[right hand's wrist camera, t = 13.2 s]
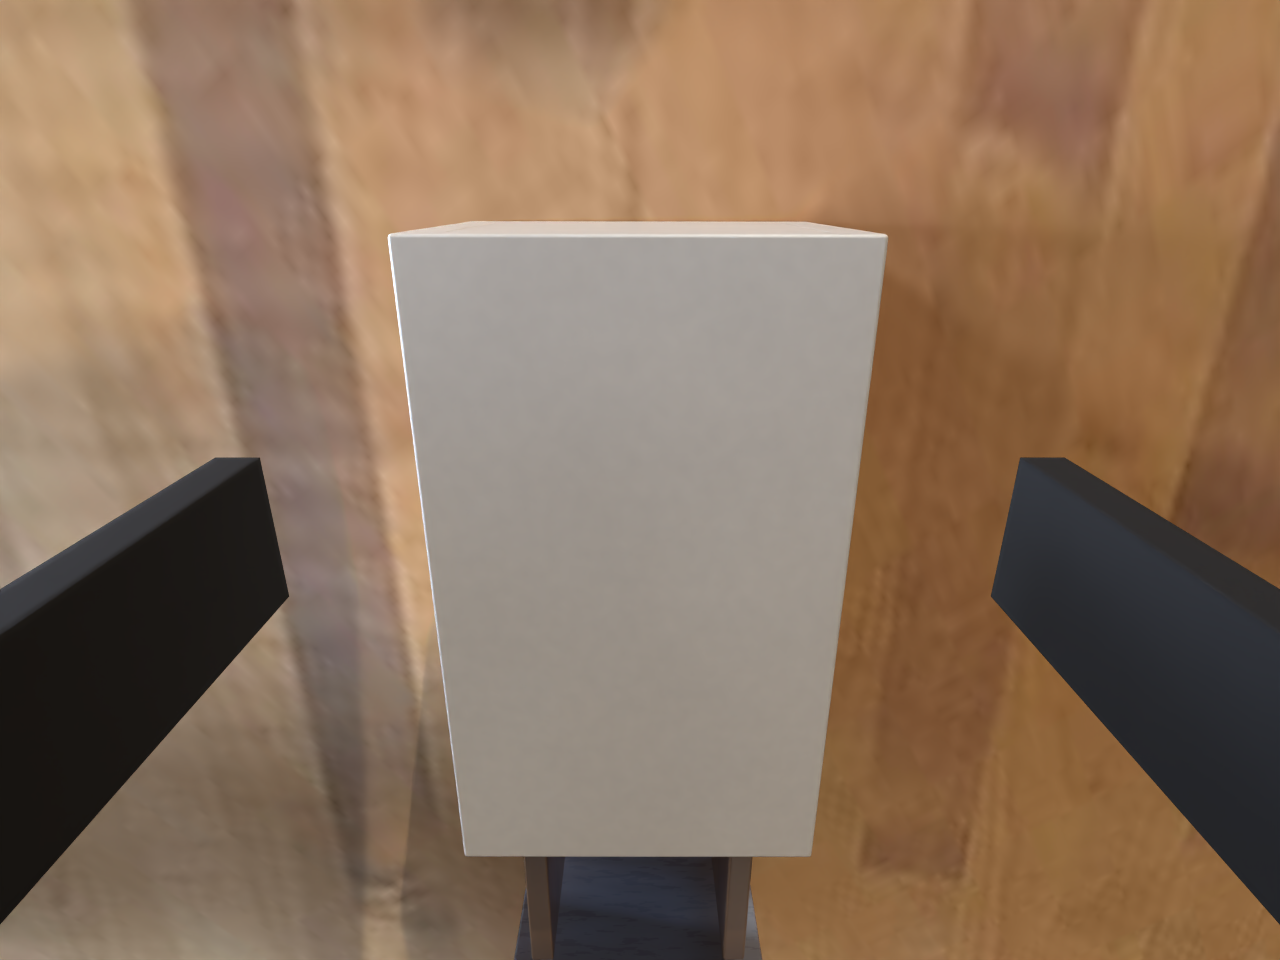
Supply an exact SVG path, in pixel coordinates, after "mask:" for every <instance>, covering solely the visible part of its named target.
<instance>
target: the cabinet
mask: <svg viewBox="0 0 1280 960" xmlns="http://www.w3.org/2000/svg"><path fill="white" fill-rule="evenodd" d="M388 243H389V251H390V259H391V267H392V275H393V283H394V291H395V299H396V307H397V315H398V323H399V331H400V339H401V347H402V355H403V363H404V371H405V379H406V387H407V395H408V403H409V411H410V419H411V427H412V435H413V443H414V451H415V459H416V467H417V475H418V483H419V491H420V499H421V508H422V516H423V524H424V532H425V540H426V548H427V556H428V564H429V572H430V580H431V588H432V596H433V604H434V612H435V620H436V628H437V636H438V644H439V652H440V660H441V668H442V676H443V684H444V692H445V700H446V708H447V716H448V724H449V732H450V740H451V748H452V756H453V765H454V773H455V781H456V789H457V797H458V805H459V813H460V821H461V829H462V837H463V845H464V853H465V856H467V857H810V856H811V853H812V845H813V837H814V829H815V821H816V813H817V805H818V797H819V789H820V781H821V773H822V765H823V757H824V749H825V741H826V733H827V725H828V717H829V709H830V701H831V693H832V685H833V677H834V669H835V661H836V653H837V645H838V637H839V629H840V621H841V613H842V605H843V597H844V589H845V581H846V573H847V565H848V557H849V549H850V541H851V533H852V525H853V517H854V509H855V501H856V493H857V485H858V477H859V469H860V461H861V453H862V445H863V437H864V429H865V421H866V413H867V405H868V397H869V389H870V381H871V373H872V365H873V357H874V349H875V341H876V333H877V325H878V317H879V309H880V301H881V293H882V285H883V277H884V269H885V261H886V253H887V245H888V235H886V234H881V233H874V232H869V231H862V230H856V229H849V228H843V227H836V226H830V225H823V224H817V223H811V222H604V221H471V222H465V223H458V224H452V225H445V226H438V227H431V228H425V229H418V230H411V231H406V232H398V233H391V234H389V236H388Z"/></svg>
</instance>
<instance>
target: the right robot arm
mask: <svg viewBox="0 0 1280 960" xmlns="http://www.w3.org/2000/svg"><path fill="white" fill-rule="evenodd" d="M288 597H289V594H288V589H287V584H286V579H285V575H284V570H283V565H282V561H281V556H280V551H279V546H278V542H277V537H276V532H275V528H274V523H273V518H272V513H271V509H270V504H269V499H268V495H267V490H266V485H265V480H264V476H263V471H262V466H261V462H260V458H214V459H212V460H211V461H209V462H207V463H206V464H204V465H203V466H201V467H199V468H198V469H196V470H194V471H193V472H191V473H189V474H188V475H186V476H185V477H183V478H181V479H180V480H178V481H176V482H175V483H173V484H171V485H170V486H168V487H167V488H165V489H163V490H162V491H160V492H158V493H157V494H155V495H154V496H152V497H150V498H149V499H147V500H145V501H144V502H142V503H140V504H139V505H137V506H136V507H134V508H132V509H131V510H129V511H127V512H126V513H124V514H122V515H121V516H119V517H118V518H116V519H114V520H113V521H111V522H109V523H108V524H106V525H104V526H103V527H101V528H100V529H98V530H96V531H95V532H93V533H91V534H90V535H88V536H87V537H85V538H83V539H82V540H80V541H78V542H77V543H75V544H73V545H72V546H70V547H69V548H67V549H65V550H64V551H62V552H60V553H59V554H57V555H55V556H54V557H52V558H51V559H49V560H47V561H46V562H44V563H42V564H41V565H39V566H38V567H36V568H34V569H33V570H31V571H29V572H28V573H26V574H24V575H23V576H21V577H20V578H18V579H16V580H15V581H13V582H11V583H10V584H8V585H6V586H5V587H3V588H2V589H0V924H1V923H2V922H3V921H4V920H5V918H6V917H7V916H8V915H9V914H10V913H11V912H12V911H13V909H14V908H15V907H16V906H17V905H18V904H19V903H20V901H21V900H22V899H23V898H24V897H25V896H26V895H27V893H28V892H29V891H30V890H31V889H32V888H33V887H34V886H35V884H36V883H37V882H38V881H39V880H40V879H41V878H42V876H43V875H44V874H45V873H46V872H47V871H48V870H49V868H50V867H51V866H52V865H53V864H54V863H55V862H56V861H57V859H58V858H59V857H60V856H61V855H62V854H63V853H64V851H65V850H66V849H67V848H68V847H69V846H70V845H71V843H72V842H73V841H74V840H75V839H76V838H77V837H78V836H79V834H80V833H81V832H82V831H83V830H84V829H85V828H86V826H87V825H88V824H89V823H90V822H91V821H92V820H93V818H94V817H95V816H96V815H97V814H98V813H99V812H100V811H101V809H102V808H103V807H104V806H105V805H106V804H107V803H108V801H109V800H110V799H111V798H112V797H113V796H114V795H115V793H116V792H117V791H118V790H119V789H120V788H121V787H122V786H123V784H124V783H125V782H126V781H127V780H128V779H129V778H130V776H131V775H132V774H133V773H134V772H135V771H136V770H137V769H138V767H139V766H140V765H141V764H142V763H143V762H144V761H145V759H146V758H147V757H148V756H149V755H150V754H151V753H152V751H153V750H154V749H155V748H156V747H157V746H158V745H159V744H160V742H161V741H162V740H163V739H164V738H165V737H166V736H167V734H168V733H169V732H170V731H171V730H172V729H173V728H174V726H175V725H176V724H177V723H178V722H179V721H180V720H181V719H182V717H183V716H184V715H185V714H186V713H187V712H188V711H189V709H190V708H191V707H192V706H193V705H194V704H195V703H196V701H197V700H198V699H199V698H200V697H201V696H202V695H203V694H204V692H205V691H206V690H207V689H208V688H209V687H210V686H211V684H212V683H213V682H214V681H215V680H216V679H217V678H218V676H219V675H220V674H221V673H222V672H223V671H224V670H225V669H226V667H227V666H228V665H229V664H230V663H231V662H232V661H233V659H234V658H235V657H236V656H237V655H238V654H239V653H240V652H241V650H242V649H243V648H244V647H245V646H246V645H247V644H248V642H249V641H250V640H251V639H252V638H253V637H254V636H255V634H256V633H257V632H258V631H259V630H260V629H261V628H262V627H263V625H264V624H265V623H266V622H267V621H268V620H269V619H270V617H271V616H272V615H273V614H274V613H275V612H276V611H277V609H278V608H279V607H280V606H281V605H282V604H283V603H284V602H285V600H286V599H287V598H288ZM991 597H992V598H993V599H994V600H995V602H996V603H997V604H998V605H999V606H1000V607H1001V608H1002V609H1003V611H1004V612H1005V613H1006V614H1007V615H1008V616H1009V617H1010V619H1011V620H1012V621H1013V622H1014V623H1015V624H1016V625H1017V627H1018V628H1019V629H1020V630H1021V631H1022V632H1023V633H1024V634H1025V636H1026V637H1027V638H1028V639H1029V640H1030V641H1031V642H1032V644H1033V645H1034V646H1035V647H1036V648H1037V649H1038V650H1039V652H1040V653H1041V654H1042V655H1043V656H1044V657H1045V658H1046V659H1047V661H1048V662H1049V663H1050V664H1051V665H1052V666H1053V667H1054V669H1055V670H1056V671H1057V672H1058V673H1059V674H1060V675H1061V676H1062V678H1063V679H1064V680H1065V681H1066V682H1067V683H1068V684H1069V686H1070V687H1071V688H1072V689H1073V690H1074V691H1075V692H1076V694H1077V695H1078V696H1079V697H1080V698H1081V699H1082V700H1083V701H1084V703H1085V704H1086V705H1087V706H1088V707H1089V708H1090V709H1091V711H1092V712H1093V713H1094V714H1095V715H1096V716H1097V717H1098V719H1099V720H1100V721H1101V722H1102V723H1103V724H1104V725H1105V726H1106V728H1107V729H1108V730H1109V731H1110V732H1111V733H1112V734H1113V736H1114V737H1115V738H1116V739H1117V740H1118V741H1119V742H1120V744H1121V745H1122V746H1123V747H1124V748H1125V749H1126V750H1127V751H1128V753H1129V754H1130V755H1131V756H1132V757H1133V758H1134V759H1135V761H1136V762H1137V763H1138V764H1139V765H1140V766H1141V767H1142V769H1143V770H1144V771H1145V772H1146V773H1147V774H1148V775H1149V776H1150V778H1151V779H1152V780H1153V781H1154V782H1155V783H1156V784H1157V786H1158V787H1159V788H1160V789H1161V790H1162V791H1163V792H1164V794H1165V795H1166V796H1167V797H1168V798H1169V799H1170V800H1171V801H1172V803H1173V804H1174V805H1175V806H1176V807H1177V808H1178V809H1179V811H1180V812H1181V813H1182V814H1183V815H1184V816H1185V817H1186V818H1187V820H1188V821H1189V822H1190V823H1191V824H1192V825H1193V826H1194V828H1195V829H1196V830H1197V831H1198V832H1199V833H1200V834H1201V836H1202V837H1203V838H1204V839H1205V840H1206V841H1207V842H1208V843H1209V845H1210V846H1211V847H1212V848H1213V849H1214V850H1215V851H1216V853H1217V854H1218V855H1219V856H1220V857H1221V858H1222V859H1223V861H1224V862H1225V863H1226V864H1227V865H1228V866H1229V867H1230V868H1231V870H1232V871H1233V872H1234V873H1235V874H1236V875H1237V876H1238V878H1239V879H1240V880H1241V881H1242V882H1243V883H1244V884H1245V886H1246V887H1247V888H1248V889H1249V890H1250V891H1251V892H1252V893H1253V895H1254V896H1255V897H1256V898H1257V899H1258V900H1259V901H1260V903H1261V904H1262V905H1263V906H1264V907H1265V908H1266V909H1267V911H1268V912H1269V913H1270V914H1271V915H1272V916H1273V917H1274V918H1275V920H1276V921H1277V922H1278V923H1279V924H1280V589H1278V588H1277V587H1275V586H1274V585H1272V584H1270V583H1269V582H1267V581H1265V580H1264V579H1262V578H1260V577H1259V576H1257V575H1256V574H1254V573H1252V572H1251V571H1249V570H1247V569H1246V568H1244V567H1242V566H1241V565H1239V564H1238V563H1236V562H1234V561H1233V560H1231V559H1229V558H1228V557H1226V556H1225V555H1223V554H1221V553H1220V552H1218V551H1216V550H1215V549H1213V548H1211V547H1210V546H1208V545H1207V544H1205V543H1203V542H1202V541H1200V540H1198V539H1197V538H1195V537H1193V536H1192V535H1190V534H1189V533H1187V532H1185V531H1184V530H1182V529H1180V528H1179V527H1177V526H1176V525H1174V524H1172V523H1171V522H1169V521H1167V520H1166V519H1164V518H1162V517H1161V516H1159V515H1158V514H1156V513H1154V512H1153V511H1151V510H1149V509H1148V508H1146V507H1144V506H1143V505H1141V504H1140V503H1138V502H1136V501H1135V500H1133V499H1131V498H1130V497H1128V496H1126V495H1125V494H1123V493H1122V492H1120V491H1118V490H1117V489H1115V488H1113V487H1112V486H1110V485H1109V484H1107V483H1105V482H1104V481H1102V480H1100V479H1099V478H1097V477H1095V476H1094V475H1092V474H1091V473H1089V472H1087V471H1086V470H1084V469H1082V468H1081V467H1079V466H1077V465H1076V464H1074V463H1073V462H1071V461H1069V460H1068V459H1066V458H1020V462H1019V466H1018V471H1017V476H1016V480H1015V485H1014V490H1013V495H1012V499H1011V504H1010V509H1009V513H1008V518H1007V523H1006V528H1005V532H1004V537H1003V542H1002V546H1001V551H1000V556H999V561H998V565H997V570H996V575H995V579H994V584H993V589H992V594H991Z"/></svg>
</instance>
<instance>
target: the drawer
mask: <svg viewBox="0 0 1280 960" xmlns="http://www.w3.org/2000/svg"><path fill="white" fill-rule="evenodd" d="M524 867H525V879H526V890H525V896H524V902H523V908H522V914H521V920H520V926H519V932H518V938H517V945H516V951H515V957H514V960H762V955H761V949H760V943H759V937H758V930H757V924H756V918H755V912H754V905H753V899H752V893H751V887H750V879H751V867H752V857H524Z"/></svg>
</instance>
